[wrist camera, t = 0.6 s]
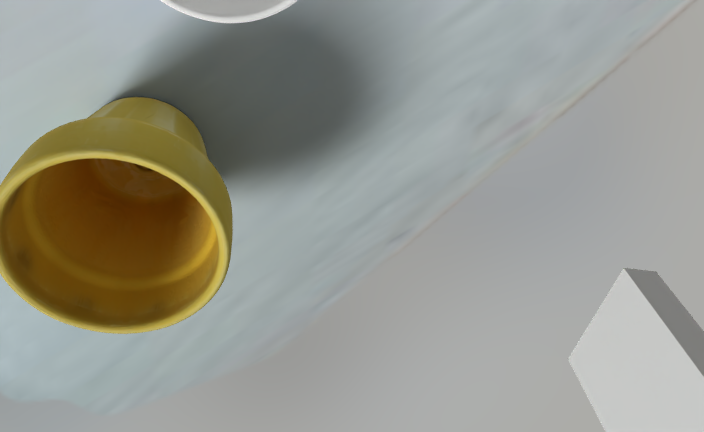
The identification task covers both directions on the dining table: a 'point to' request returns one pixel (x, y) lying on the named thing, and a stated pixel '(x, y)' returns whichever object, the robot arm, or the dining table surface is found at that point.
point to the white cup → (229, 9)
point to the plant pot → (117, 220)
